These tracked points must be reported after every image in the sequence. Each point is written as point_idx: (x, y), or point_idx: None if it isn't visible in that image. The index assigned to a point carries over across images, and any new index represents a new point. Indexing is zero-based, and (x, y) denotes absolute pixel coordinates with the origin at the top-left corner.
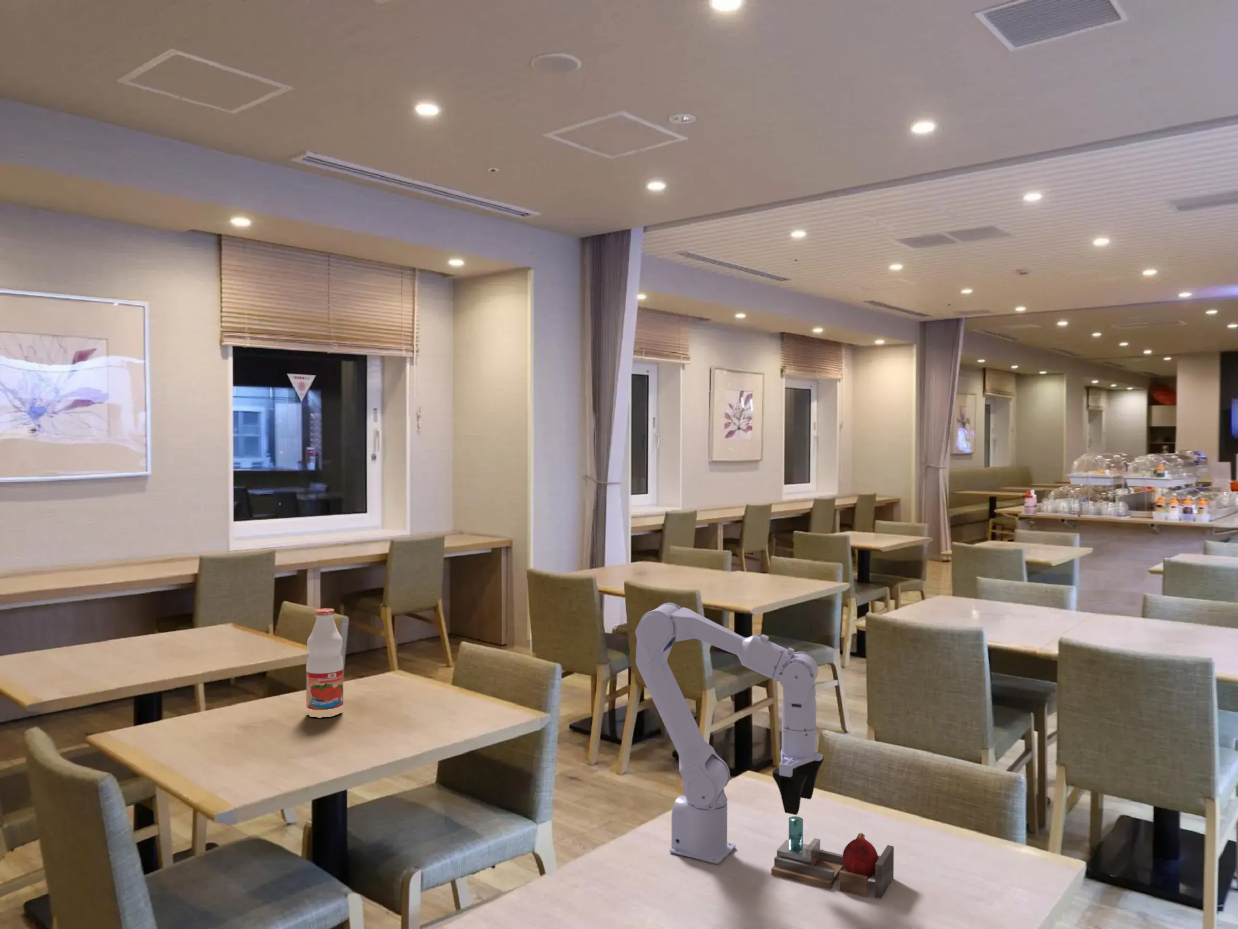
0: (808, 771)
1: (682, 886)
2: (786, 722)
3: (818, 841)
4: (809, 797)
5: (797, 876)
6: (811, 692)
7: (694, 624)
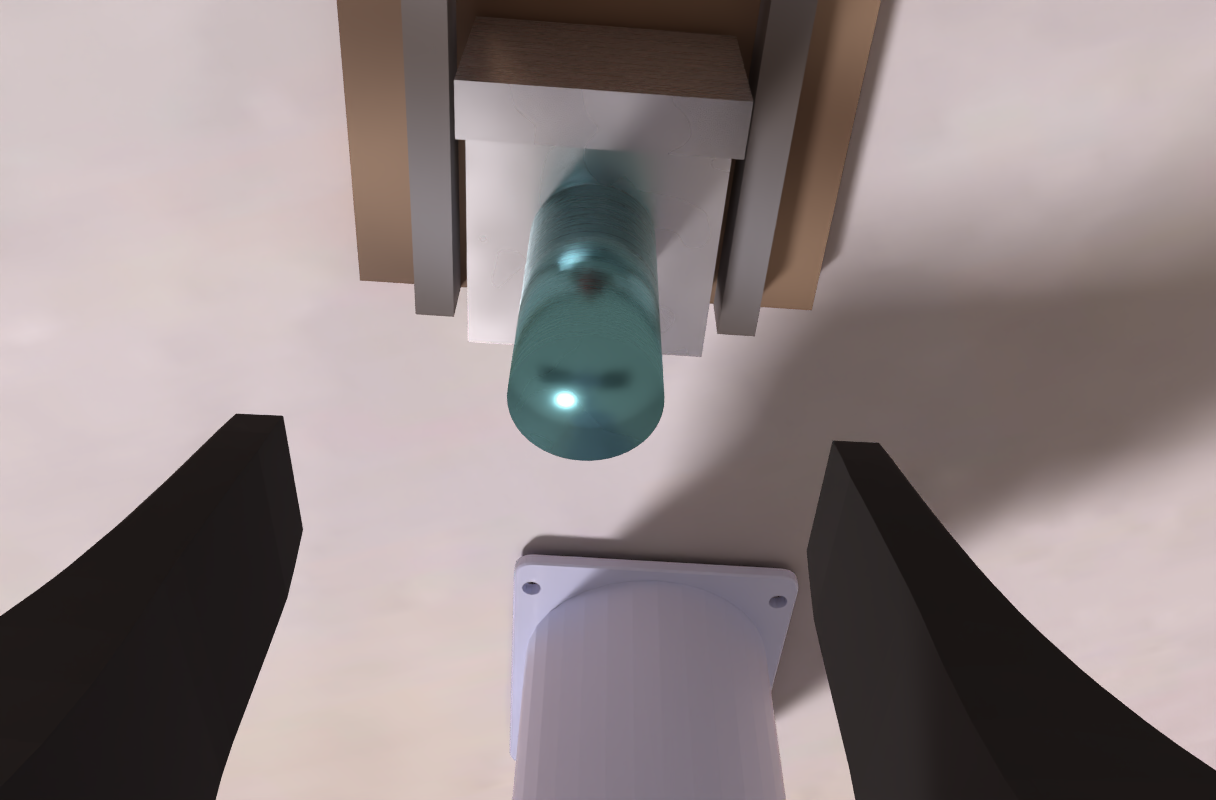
0: (135, 768)
1: (1104, 628)
2: None
3: (507, 84)
4: (275, 441)
5: (854, 111)
6: None
7: None
